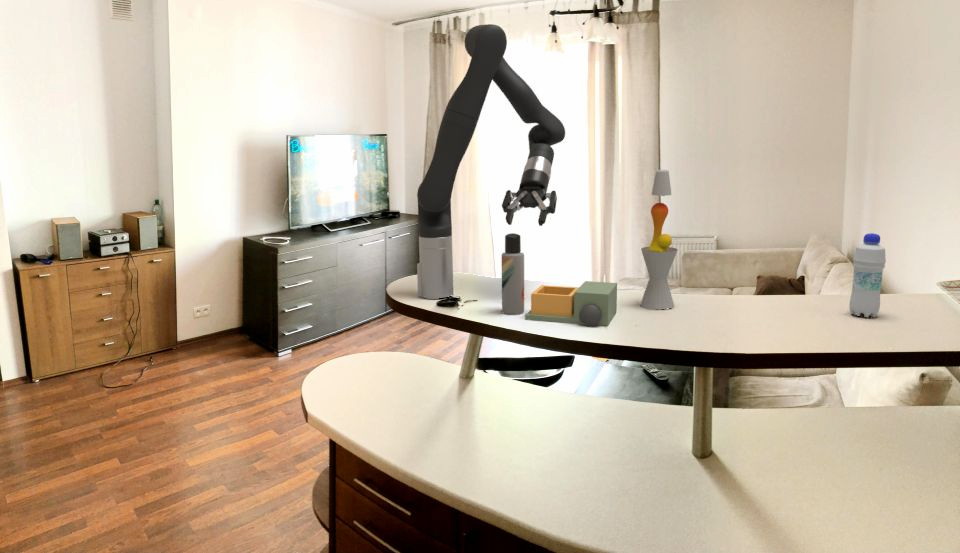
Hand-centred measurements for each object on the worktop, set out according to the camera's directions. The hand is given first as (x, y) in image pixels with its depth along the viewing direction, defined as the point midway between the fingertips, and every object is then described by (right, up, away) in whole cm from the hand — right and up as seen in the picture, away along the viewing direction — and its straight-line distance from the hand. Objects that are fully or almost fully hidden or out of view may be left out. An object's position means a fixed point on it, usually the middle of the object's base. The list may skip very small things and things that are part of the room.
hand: (524, 223), depth 172 cm
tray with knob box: (+11, -24, -10) cm, 28 cm away
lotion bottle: (-3, -23, -5) cm, 24 cm away
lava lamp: (+35, -22, -1) cm, 41 cm away
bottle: (+81, -24, -14) cm, 85 cm away
